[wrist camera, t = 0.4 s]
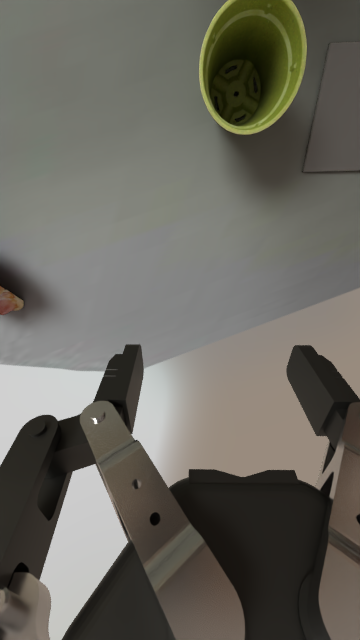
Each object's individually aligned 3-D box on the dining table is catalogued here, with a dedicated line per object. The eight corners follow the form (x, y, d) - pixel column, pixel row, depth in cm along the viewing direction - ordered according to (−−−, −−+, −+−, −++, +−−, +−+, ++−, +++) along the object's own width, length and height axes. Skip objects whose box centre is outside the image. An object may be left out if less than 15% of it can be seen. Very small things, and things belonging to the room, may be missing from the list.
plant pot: (209, 157, 32) (217, 151, 25) (183, 65, 27) (183, 24, 20) (280, 123, 30) (312, 106, 23) (265, 18, 26) (298, -46, 18)
